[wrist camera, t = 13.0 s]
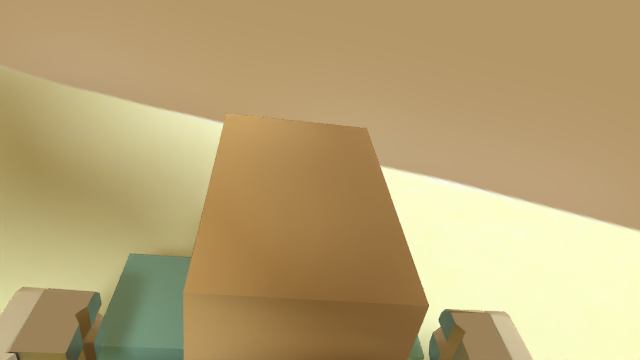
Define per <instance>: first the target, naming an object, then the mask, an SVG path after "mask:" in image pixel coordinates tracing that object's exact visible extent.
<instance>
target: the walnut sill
mask: <svg viewBox="0 0 640 360" xmlns="http://www.w3.org/2000/svg"><path fill="white" fill-rule="evenodd" d="M191 258H192V257H176V256H160V255H144V254H130V255H129V258H128V260H127V263H126V265H125V267H124V270H123V272H122V275H121V277H120V280H119V282H118V285H117V287H116V289H115V292H114V294H113V297H112V299H111V302H110V304H109V307H108V309H107V312H106V314H105V316H104V338H103V343H102V348H101V351H100V354H99V357H98V359H97V360H184V337H183V291H184V287H185V283H186V279H187V274H188V270H189V266H190V262H191ZM423 359H424V355H423V351H422V348H421V345H420V342H419V338H418V335H417V337H416V340H415V342H414V345H413V347H412V350H411V352H410V355H409V358H408V360H423Z"/></svg>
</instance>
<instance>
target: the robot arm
mask: <svg viewBox="0 0 640 360" xmlns="http://www.w3.org/2000/svg"><path fill="white" fill-rule="evenodd" d="M100 306H101V299H100V294H99V293H98V292H90V291H76V290H63V289H50V288H48V289H45V288H31V287H22V288H21V289H20V290H18V291H17V292H16V293H15V294H14V296H13V297H12V299H11V300H10V302H9V303H8V305H7V307H6V308H5V310H4V311H3V313H2V314H1V316H0V360H97V359H98V357H99V354H100V351H101V348H102V343H103V338H104V318H103V317H102V316H101V315H100V314H99V313H98V311H99V308H100ZM439 323H440V325H441V327H440V328H438V329H437V330H436V331H434V332H433V334H432V337H431V340H430V345H429V356H430V360H533V359H532V357H531V355H530V353H529V351H528V349H527V348H526V346H525V344H524V342H523V340H522V338H521V337H520V335H519V333H518V331H517V329H516V327H515V325H514V324H513V322H512V320H511V318H510V316H509V315H508V314H507V313H506V312H498V311H480V310H454V309H445V310H444V311H443V312H442V313H441V315H440V317H439Z"/></svg>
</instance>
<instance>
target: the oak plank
mask: <svg viewBox="0 0 640 360" xmlns="http://www.w3.org/2000/svg"><path fill="white" fill-rule="evenodd" d="M428 307H429V304H428V301H427V299H426V296H425V293H424V290H423V287H422V284H421V281H420V279H419V276H418V273H417V270H416V267H415V264H414V261H413V259H412V256H411V253H410V250H409V247H408V244H407V242H406V239H405V236H404V233H403V230H402V227H401V224H400V222H399V219H398V216H397V213H396V210H395V207H394V204H393V202H392V199H391V196H390V193H389V190H388V187H387V185H386V182H385V179H384V176H383V173H382V170H381V167H380V165H379V162H378V159H377V156H376V153H375V150H374V147H373V145H372V142H371V139H370V136H369V133H368V130H367V128H360V127H350V126H341V125H332V124H323V123H313V122H303V121H294V120H285V119H276V118H266V117H257V116H248V115H239V114H229V113H226V117H225V121H224V125H223V129H222V134H221V138H220V142H219V146H218V150H217V154H216V158H215V163H214V167H213V171H212V175H211V179H210V183H209V187H208V192H207V196H206V200H205V204H204V208H203V212H202V216H201V221H200V225H199V229H198V233H197V237H196V241H195V245H194V250H193V254H192V258H191V262H190V266H189V270H188V274H187V279H186V283H185V287H184V291H183V337H184V360H408V358H409V355H410V352H411V350H412V347H413V345H414V342H415V340H416V337H417V335H418V332H419V330H420V327H421V325H422V322H423V320H424V317H425V315H426V312H427V310H428Z"/></svg>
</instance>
